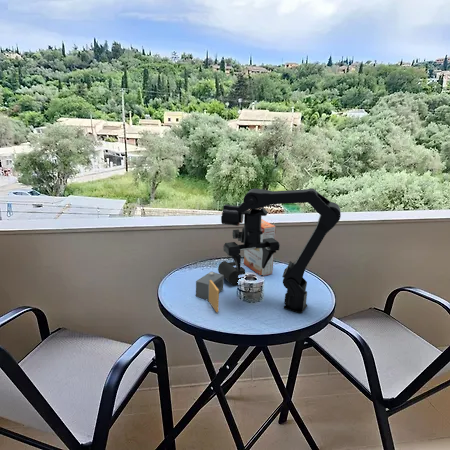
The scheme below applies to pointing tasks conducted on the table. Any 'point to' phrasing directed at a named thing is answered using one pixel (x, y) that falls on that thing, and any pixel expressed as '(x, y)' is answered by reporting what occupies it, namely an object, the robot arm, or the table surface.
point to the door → (213, 295)
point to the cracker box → (260, 252)
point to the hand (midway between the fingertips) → (250, 269)
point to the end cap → (230, 272)
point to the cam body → (204, 283)
